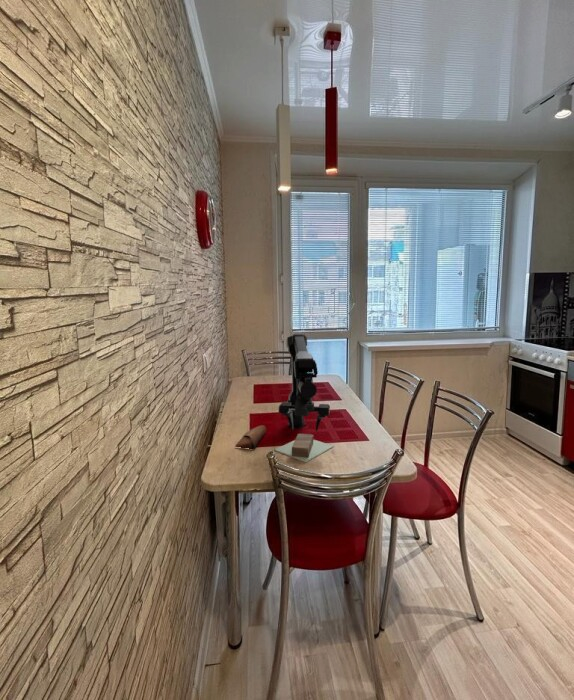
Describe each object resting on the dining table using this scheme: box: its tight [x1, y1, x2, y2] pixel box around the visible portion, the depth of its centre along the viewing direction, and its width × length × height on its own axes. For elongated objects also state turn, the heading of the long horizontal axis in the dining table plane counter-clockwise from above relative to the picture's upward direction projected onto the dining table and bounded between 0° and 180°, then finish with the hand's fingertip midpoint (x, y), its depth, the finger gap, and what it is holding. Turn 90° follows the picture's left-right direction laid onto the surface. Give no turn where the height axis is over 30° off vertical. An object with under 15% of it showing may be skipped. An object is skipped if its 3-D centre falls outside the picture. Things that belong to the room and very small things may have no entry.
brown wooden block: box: [292, 433, 314, 458], centre depth 138 cm, size 4×6×13 cm
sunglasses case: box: [234, 424, 267, 450], centre depth 148 cm, size 18×7×7 cm
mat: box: [274, 438, 335, 463], centre depth 140 cm, size 17×15×1 cm
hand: (304, 430), depth 140 cm, fingers open, 9 cm apart
